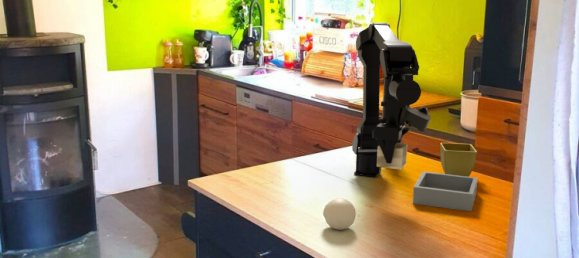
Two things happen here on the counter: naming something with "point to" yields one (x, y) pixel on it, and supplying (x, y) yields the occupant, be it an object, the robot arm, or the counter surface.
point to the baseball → (339, 213)
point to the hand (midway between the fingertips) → (391, 159)
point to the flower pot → (457, 158)
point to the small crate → (398, 157)
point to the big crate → (445, 191)
